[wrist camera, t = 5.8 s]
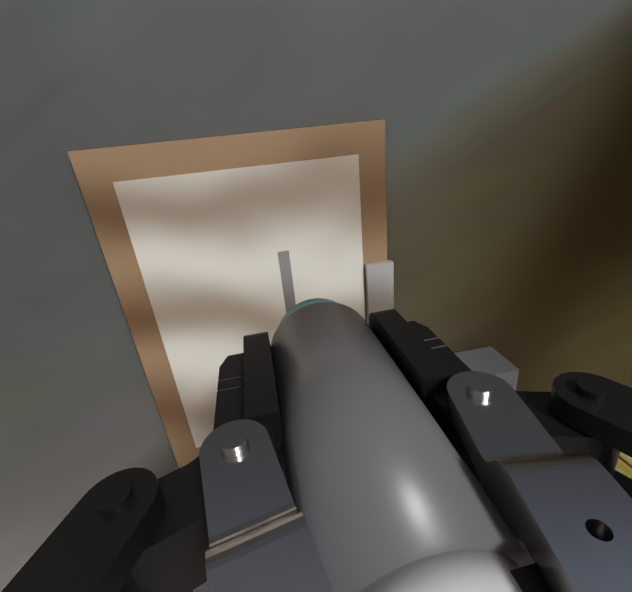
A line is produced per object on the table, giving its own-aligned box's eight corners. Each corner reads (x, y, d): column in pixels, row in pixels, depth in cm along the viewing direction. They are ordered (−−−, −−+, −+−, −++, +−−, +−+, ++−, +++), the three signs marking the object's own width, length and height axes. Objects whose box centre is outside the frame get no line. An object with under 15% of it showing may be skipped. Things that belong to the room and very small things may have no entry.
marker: (260, 298, 11) (303, 654, 3) (359, 282, 12) (600, 562, 4) (275, 382, 12) (332, 777, 5) (364, 364, 13) (551, 700, 5)
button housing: (399, 363, 25) (417, 390, 23) (490, 346, 26) (519, 369, 23) (398, 438, 28) (415, 470, 25) (481, 419, 29) (506, 448, 26)
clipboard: (73, 151, 17) (62, 151, 16) (384, 119, 19) (392, 118, 18) (180, 460, 25) (177, 474, 24) (388, 415, 27) (394, 426, 26)
